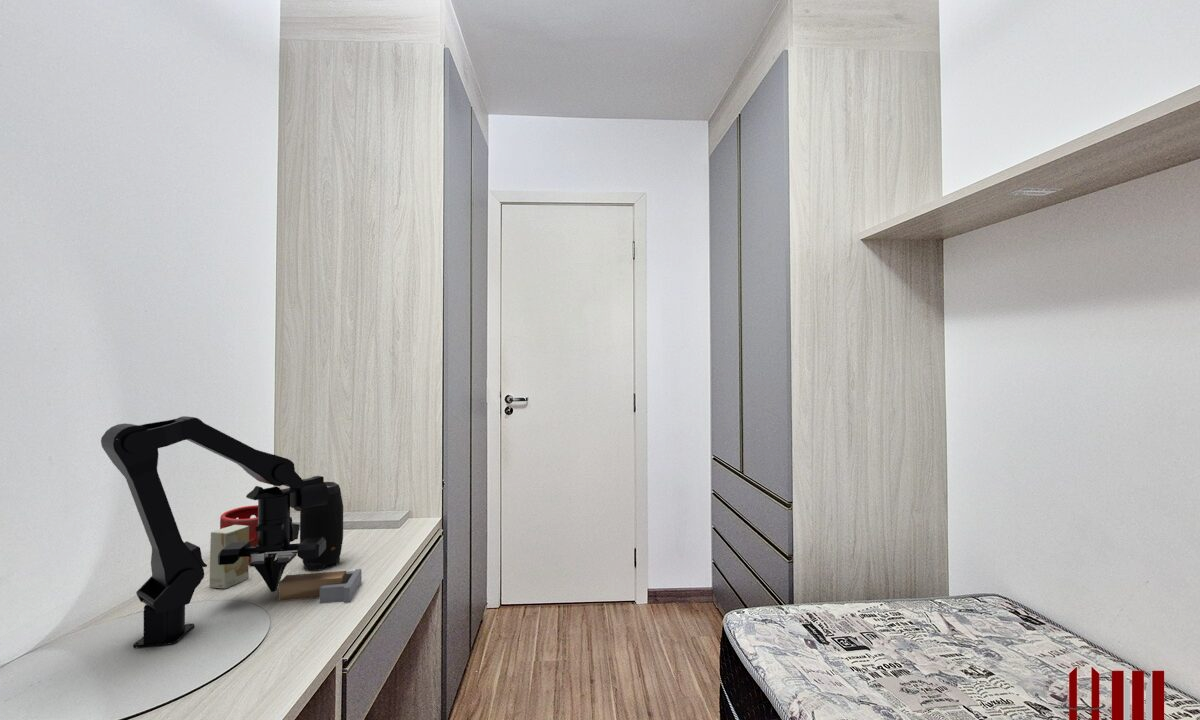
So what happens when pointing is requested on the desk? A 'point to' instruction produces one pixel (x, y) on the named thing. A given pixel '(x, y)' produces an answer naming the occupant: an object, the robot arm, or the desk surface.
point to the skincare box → (231, 572)
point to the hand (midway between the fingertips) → (273, 591)
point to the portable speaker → (324, 528)
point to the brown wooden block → (308, 584)
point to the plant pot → (242, 521)
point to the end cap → (342, 588)
